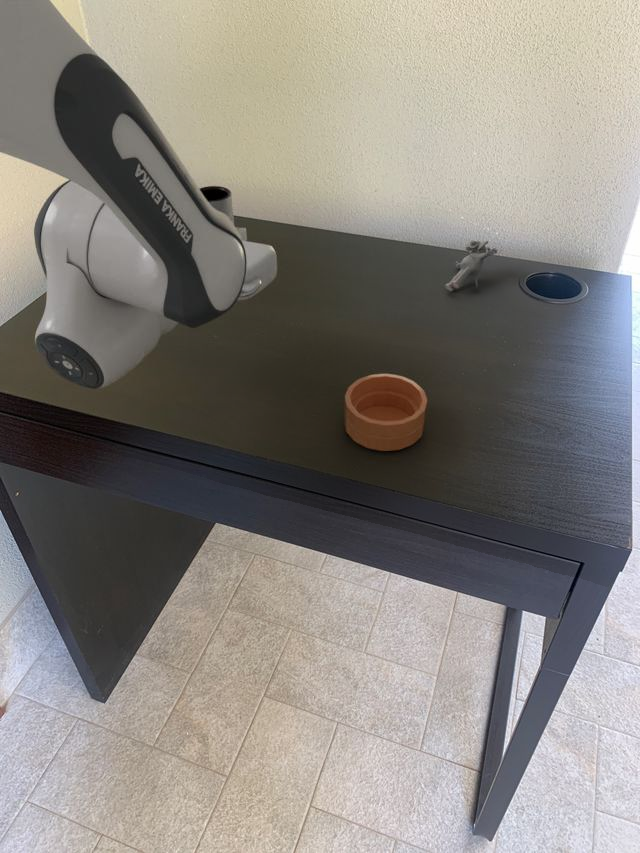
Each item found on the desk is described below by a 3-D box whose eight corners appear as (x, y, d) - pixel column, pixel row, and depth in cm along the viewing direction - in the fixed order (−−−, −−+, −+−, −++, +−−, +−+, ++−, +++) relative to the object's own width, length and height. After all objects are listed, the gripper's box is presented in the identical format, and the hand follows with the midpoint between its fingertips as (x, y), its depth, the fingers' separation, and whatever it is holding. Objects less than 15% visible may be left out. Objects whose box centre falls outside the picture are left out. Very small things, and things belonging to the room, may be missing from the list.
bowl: (394, 466, 75) (396, 436, 72) (329, 432, 80) (328, 402, 77) (438, 423, 81) (442, 393, 78) (374, 393, 85) (376, 364, 82)
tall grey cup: (195, 278, 85) (184, 197, 78) (213, 262, 88) (203, 183, 81) (228, 285, 83) (219, 203, 76) (245, 268, 86) (238, 188, 80)
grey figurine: (421, 281, 106) (453, 243, 109) (445, 309, 108) (477, 270, 111) (458, 264, 97) (492, 223, 100) (484, 295, 99) (517, 254, 101)
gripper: (244, 272, 68) (297, 216, 78) (73, 240, 73) (142, 192, 83) (249, 326, 72) (299, 267, 82) (86, 292, 78) (151, 240, 87)
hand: (219, 229), depth 82 cm, fingers closed on tall grey cup, 4 cm apart
